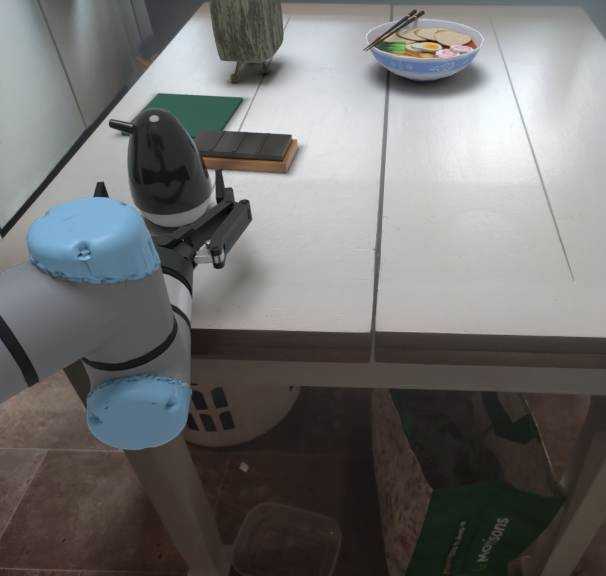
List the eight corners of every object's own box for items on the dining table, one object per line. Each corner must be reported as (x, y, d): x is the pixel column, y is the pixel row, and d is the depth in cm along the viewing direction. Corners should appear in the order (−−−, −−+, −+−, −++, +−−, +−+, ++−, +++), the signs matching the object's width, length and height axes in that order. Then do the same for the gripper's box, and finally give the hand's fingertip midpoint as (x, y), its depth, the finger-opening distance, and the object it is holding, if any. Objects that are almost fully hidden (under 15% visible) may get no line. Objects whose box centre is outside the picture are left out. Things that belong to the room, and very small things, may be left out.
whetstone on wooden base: (183, 167, 93) (179, 150, 91) (201, 142, 99) (198, 126, 97) (286, 173, 92) (284, 156, 90) (298, 148, 98) (296, 132, 96)
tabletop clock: (246, 58, 128) (227, -79, 111) (288, 61, 127) (275, -77, 110) (222, 86, 117) (197, -62, 101) (268, 89, 116) (250, -60, 100)
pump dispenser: (142, 199, 86) (111, 95, 76) (218, 193, 87) (197, 90, 78) (133, 242, 78) (98, 132, 69) (216, 233, 80) (193, 125, 70)
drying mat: (121, 135, 101) (120, 132, 101) (159, 96, 113) (158, 93, 113) (215, 140, 100) (214, 137, 99) (243, 100, 112) (242, 97, 111)
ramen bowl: (452, 110, 109) (455, 64, 104) (341, 86, 117) (339, 42, 111) (498, 64, 126) (503, 23, 121) (398, 46, 134) (399, 7, 128)
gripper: (25, 346, 58) (63, 223, 74) (286, 309, 63) (270, 200, 78) (-7, 286, 54) (41, 168, 69) (278, 250, 58) (262, 146, 73)
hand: (162, 185), depth 74 cm, fingers open, 13 cm apart
